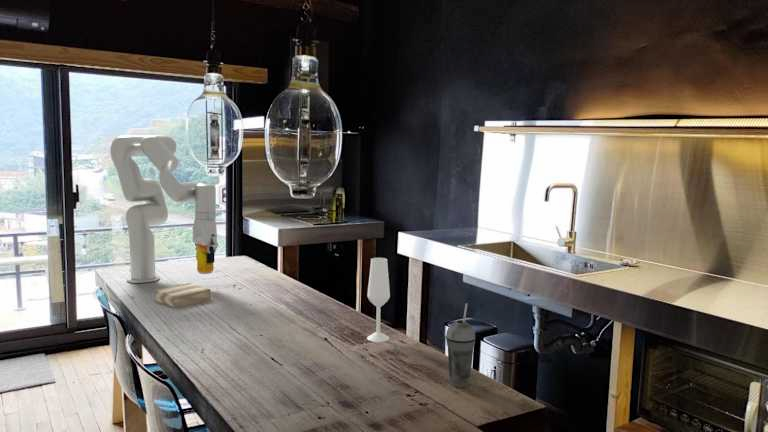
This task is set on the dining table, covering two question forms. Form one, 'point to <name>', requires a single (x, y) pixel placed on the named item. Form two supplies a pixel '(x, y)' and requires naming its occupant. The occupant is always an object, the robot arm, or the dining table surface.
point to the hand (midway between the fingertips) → (205, 260)
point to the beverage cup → (460, 351)
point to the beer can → (203, 259)
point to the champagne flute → (378, 292)
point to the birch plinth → (182, 295)
